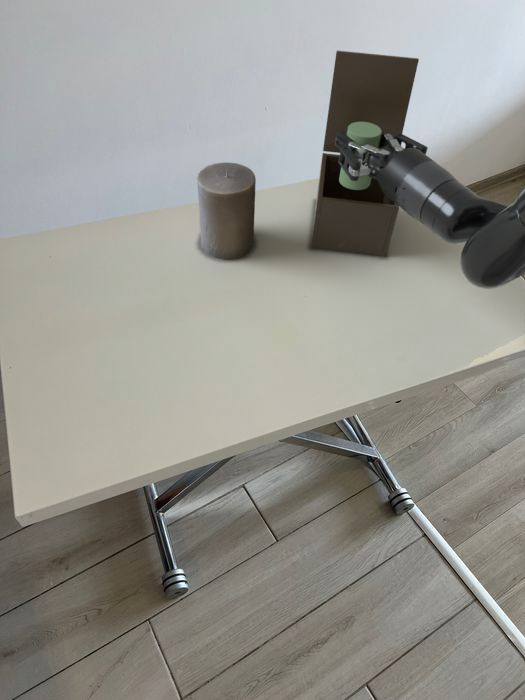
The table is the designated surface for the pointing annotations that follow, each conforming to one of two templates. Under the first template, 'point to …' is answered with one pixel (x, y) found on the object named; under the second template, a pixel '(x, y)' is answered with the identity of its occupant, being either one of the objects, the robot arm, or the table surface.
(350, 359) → the table surface
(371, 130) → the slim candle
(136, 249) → the table surface
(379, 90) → the brown box lid
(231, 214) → the pillar candle
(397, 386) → the table surface
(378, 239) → the brown hinged box
